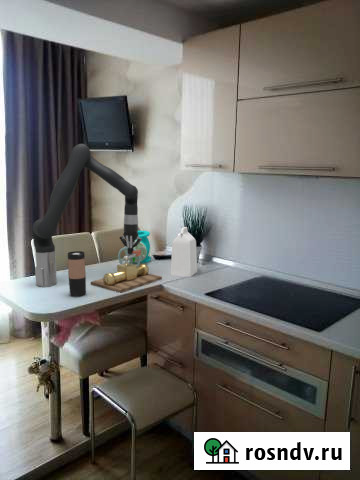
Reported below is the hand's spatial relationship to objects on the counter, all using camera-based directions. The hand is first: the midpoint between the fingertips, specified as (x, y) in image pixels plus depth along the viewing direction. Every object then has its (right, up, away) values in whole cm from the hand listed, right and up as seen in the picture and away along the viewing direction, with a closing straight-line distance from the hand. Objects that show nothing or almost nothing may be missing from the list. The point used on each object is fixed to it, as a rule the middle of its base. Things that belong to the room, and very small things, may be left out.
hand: (130, 254), depth 212 cm
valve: (0, -7, +29) cm, 30 cm away
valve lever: (+2, -1, -5) cm, 5 cm away
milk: (+29, -11, +8) cm, 32 cm away
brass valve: (-1, -14, -9) cm, 17 cm away
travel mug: (-21, -18, -30) cm, 40 cm away
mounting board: (-1, -14, -9) cm, 17 cm away
